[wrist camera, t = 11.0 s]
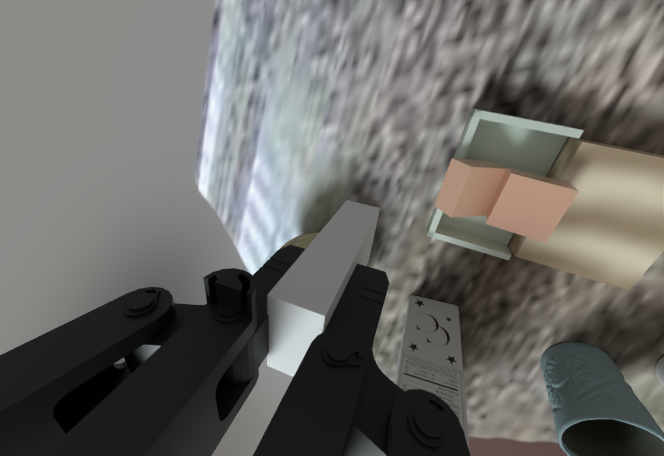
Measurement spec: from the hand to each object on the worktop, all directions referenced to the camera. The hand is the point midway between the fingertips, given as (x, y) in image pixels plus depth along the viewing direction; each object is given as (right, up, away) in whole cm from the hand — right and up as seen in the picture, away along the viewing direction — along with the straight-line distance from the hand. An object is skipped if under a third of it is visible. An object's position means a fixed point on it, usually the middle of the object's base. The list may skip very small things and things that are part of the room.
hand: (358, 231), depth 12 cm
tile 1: (+21, +3, +19) cm, 28 cm away
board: (+29, +3, +20) cm, 36 cm away
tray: (+19, +6, +23) cm, 30 cm away
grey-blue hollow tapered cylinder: (+35, -20, +30) cm, 50 cm away
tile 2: (+16, +4, +19) cm, 25 cm away
